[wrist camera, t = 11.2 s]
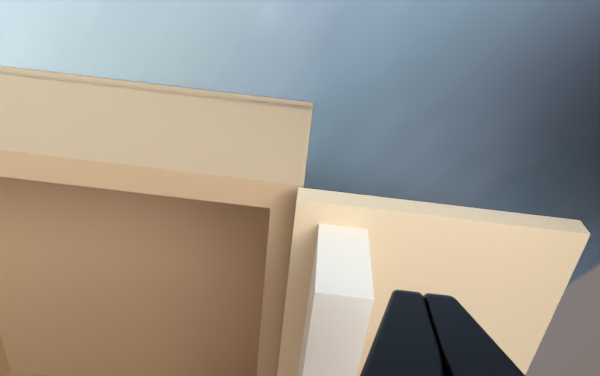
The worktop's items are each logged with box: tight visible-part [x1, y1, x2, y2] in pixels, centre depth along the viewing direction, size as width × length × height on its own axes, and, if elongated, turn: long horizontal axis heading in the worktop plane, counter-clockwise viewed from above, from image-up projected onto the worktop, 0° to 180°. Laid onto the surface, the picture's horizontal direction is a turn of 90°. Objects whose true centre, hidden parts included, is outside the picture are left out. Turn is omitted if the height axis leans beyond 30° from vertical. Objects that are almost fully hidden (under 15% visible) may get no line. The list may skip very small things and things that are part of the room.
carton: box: [0, 66, 313, 376], centre depth 20 cm, size 14×16×6 cm
